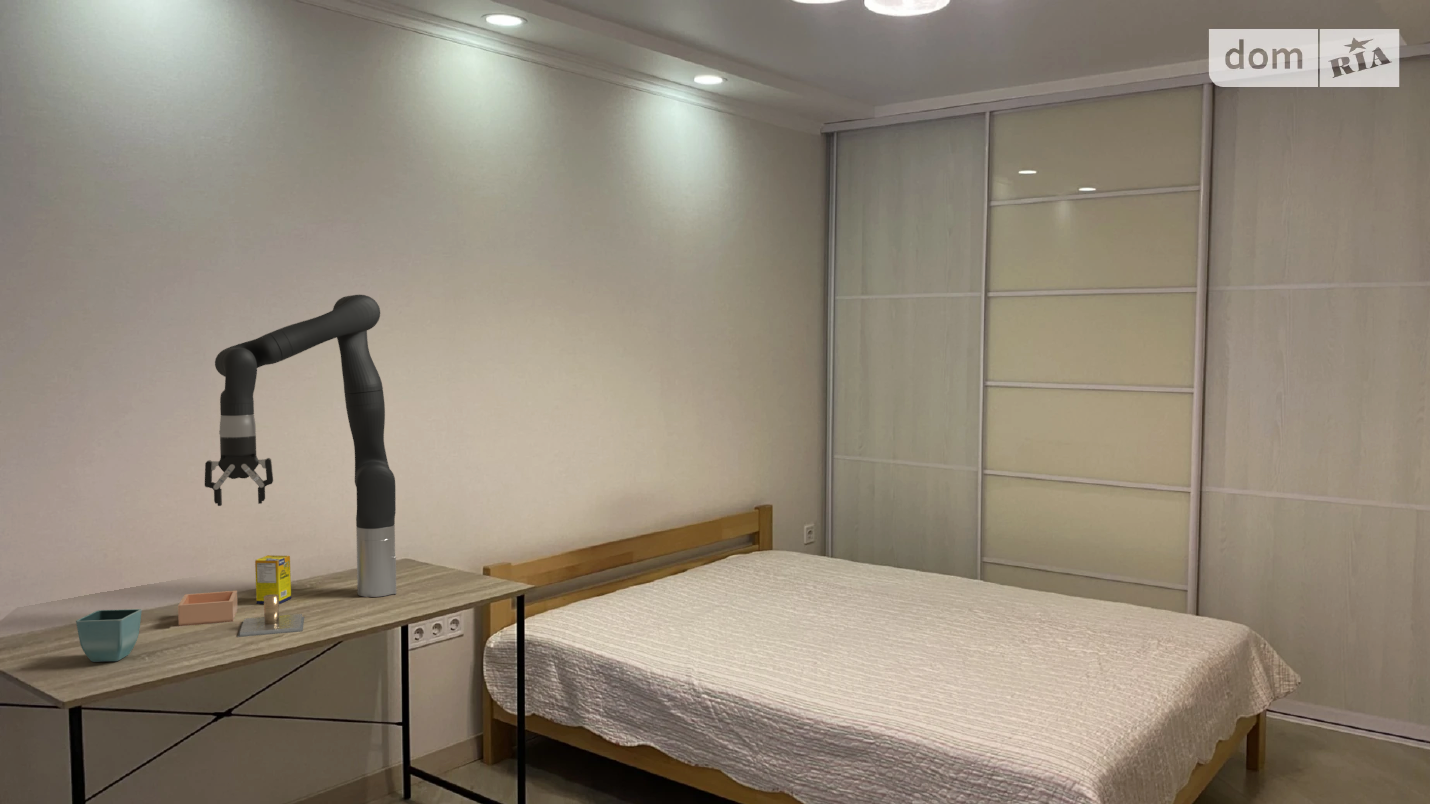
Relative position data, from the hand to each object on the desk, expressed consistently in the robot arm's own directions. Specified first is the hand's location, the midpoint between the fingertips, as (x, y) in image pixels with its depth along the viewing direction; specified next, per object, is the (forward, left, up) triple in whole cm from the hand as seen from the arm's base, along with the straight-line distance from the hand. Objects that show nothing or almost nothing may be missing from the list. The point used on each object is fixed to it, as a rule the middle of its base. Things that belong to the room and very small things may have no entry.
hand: (240, 504), depth 238 cm
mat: (-7, +14, -26) cm, 30 cm away
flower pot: (+22, +27, -26) cm, 44 cm away
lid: (-7, +14, -26) cm, 30 cm away
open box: (+7, +1, -26) cm, 27 cm away
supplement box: (-6, -12, -26) cm, 30 cm away
